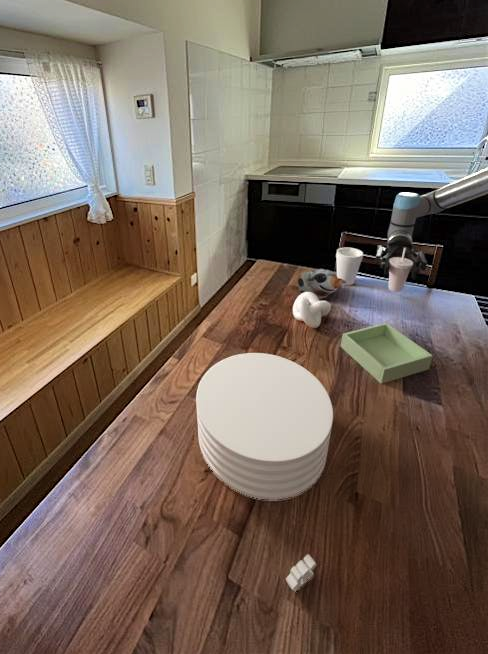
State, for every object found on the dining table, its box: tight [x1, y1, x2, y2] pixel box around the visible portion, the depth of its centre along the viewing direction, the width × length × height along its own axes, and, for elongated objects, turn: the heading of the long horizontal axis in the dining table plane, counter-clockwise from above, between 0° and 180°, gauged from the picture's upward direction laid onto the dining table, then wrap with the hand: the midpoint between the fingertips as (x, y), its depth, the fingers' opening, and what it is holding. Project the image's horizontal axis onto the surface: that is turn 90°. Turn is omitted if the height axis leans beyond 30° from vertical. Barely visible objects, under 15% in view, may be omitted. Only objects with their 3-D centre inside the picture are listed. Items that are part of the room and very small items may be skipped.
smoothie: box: [388, 248, 413, 293], centre depth 103 cm, size 6×6×14 cm
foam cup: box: [335, 246, 364, 286], centre depth 133 cm, size 10×9×13 cm
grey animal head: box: [296, 268, 346, 301], centre depth 125 cm, size 15×12×14 cm
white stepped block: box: [285, 553, 318, 593], centre depth 52 cm, size 5×1×4 cm, turn 120°
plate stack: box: [195, 352, 334, 502], centre depth 74 cm, size 28×28×12 cm
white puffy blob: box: [292, 292, 332, 329], centre depth 111 cm, size 11×12×9 cm
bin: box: [340, 322, 434, 384], centre depth 95 cm, size 16×16×5 cm
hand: (400, 273), depth 99 cm, fingers closed on smoothie, 6 cm apart
